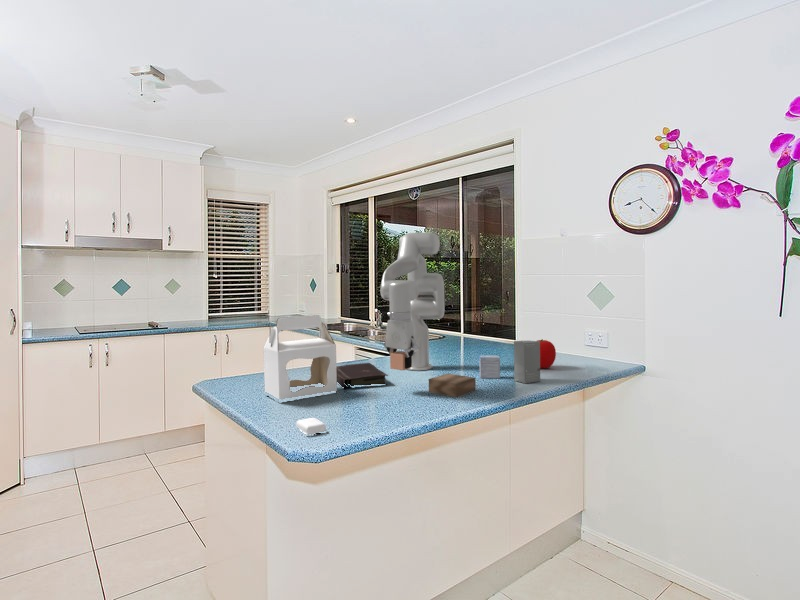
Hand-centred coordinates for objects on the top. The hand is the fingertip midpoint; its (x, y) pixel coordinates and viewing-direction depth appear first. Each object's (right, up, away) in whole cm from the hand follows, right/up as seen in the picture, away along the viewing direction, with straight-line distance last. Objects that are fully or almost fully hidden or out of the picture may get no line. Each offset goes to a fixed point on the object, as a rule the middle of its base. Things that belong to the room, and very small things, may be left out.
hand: (401, 366), depth 172 cm
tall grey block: (+49, -8, +16) cm, 52 cm away
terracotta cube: (0, -1, 0) cm, 1 cm away
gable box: (-36, -10, -1) cm, 37 cm away
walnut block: (+18, -9, +1) cm, 21 cm away
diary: (-17, -9, +20) cm, 28 cm away
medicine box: (+36, -8, +23) cm, 43 cm away
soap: (-25, -12, -41) cm, 49 cm away
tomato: (+63, -7, +40) cm, 75 cm away
